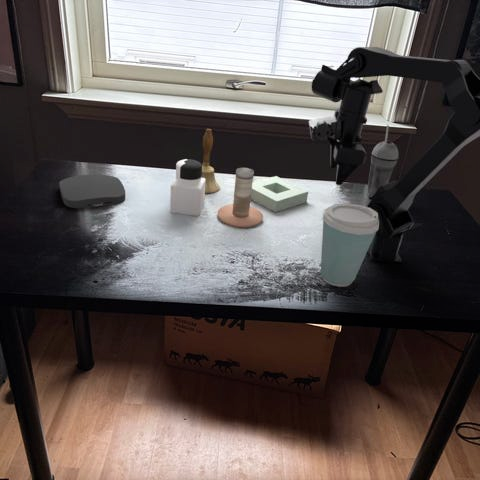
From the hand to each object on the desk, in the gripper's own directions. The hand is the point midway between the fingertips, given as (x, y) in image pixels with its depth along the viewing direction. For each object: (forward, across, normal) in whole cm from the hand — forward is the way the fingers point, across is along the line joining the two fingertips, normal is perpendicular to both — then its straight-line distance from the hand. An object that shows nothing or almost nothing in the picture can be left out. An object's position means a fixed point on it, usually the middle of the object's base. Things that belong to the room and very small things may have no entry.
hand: (335, 176), depth 108 cm
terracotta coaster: (+14, +1, -20) cm, 24 cm away
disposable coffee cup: (+12, +24, 0) cm, 27 cm away
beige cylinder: (+13, +1, -20) cm, 24 cm away
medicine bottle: (+14, -1, -33) cm, 36 cm away
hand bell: (+15, -15, -30) cm, 37 cm away
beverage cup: (+13, -21, +18) cm, 31 cm away
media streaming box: (+16, -4, -57) cm, 59 cm away
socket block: (+14, -12, -11) cm, 22 cm away
